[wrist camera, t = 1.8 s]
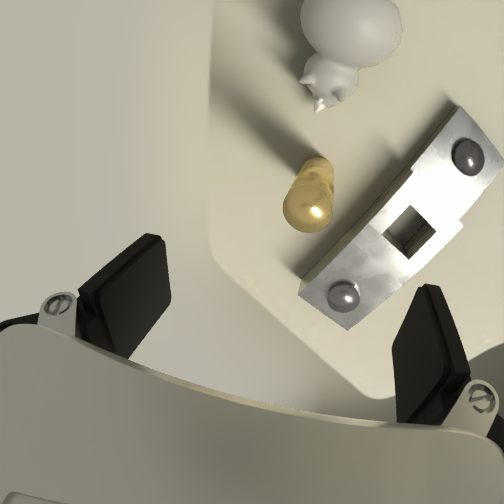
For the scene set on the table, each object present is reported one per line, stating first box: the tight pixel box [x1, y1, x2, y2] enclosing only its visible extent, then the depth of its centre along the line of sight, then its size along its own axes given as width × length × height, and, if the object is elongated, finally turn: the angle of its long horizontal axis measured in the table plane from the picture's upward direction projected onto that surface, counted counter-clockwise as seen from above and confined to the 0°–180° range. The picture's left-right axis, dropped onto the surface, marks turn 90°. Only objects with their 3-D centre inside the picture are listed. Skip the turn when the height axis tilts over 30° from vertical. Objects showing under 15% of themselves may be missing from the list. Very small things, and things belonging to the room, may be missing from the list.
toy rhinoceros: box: [299, 0, 402, 112], centre depth 17 cm, size 7×12×8 cm, turn 157°
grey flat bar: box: [298, 106, 504, 331], centre depth 24 cm, size 24×7×3 cm, turn 147°
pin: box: [283, 157, 334, 233], centre depth 21 cm, size 3×3×10 cm
